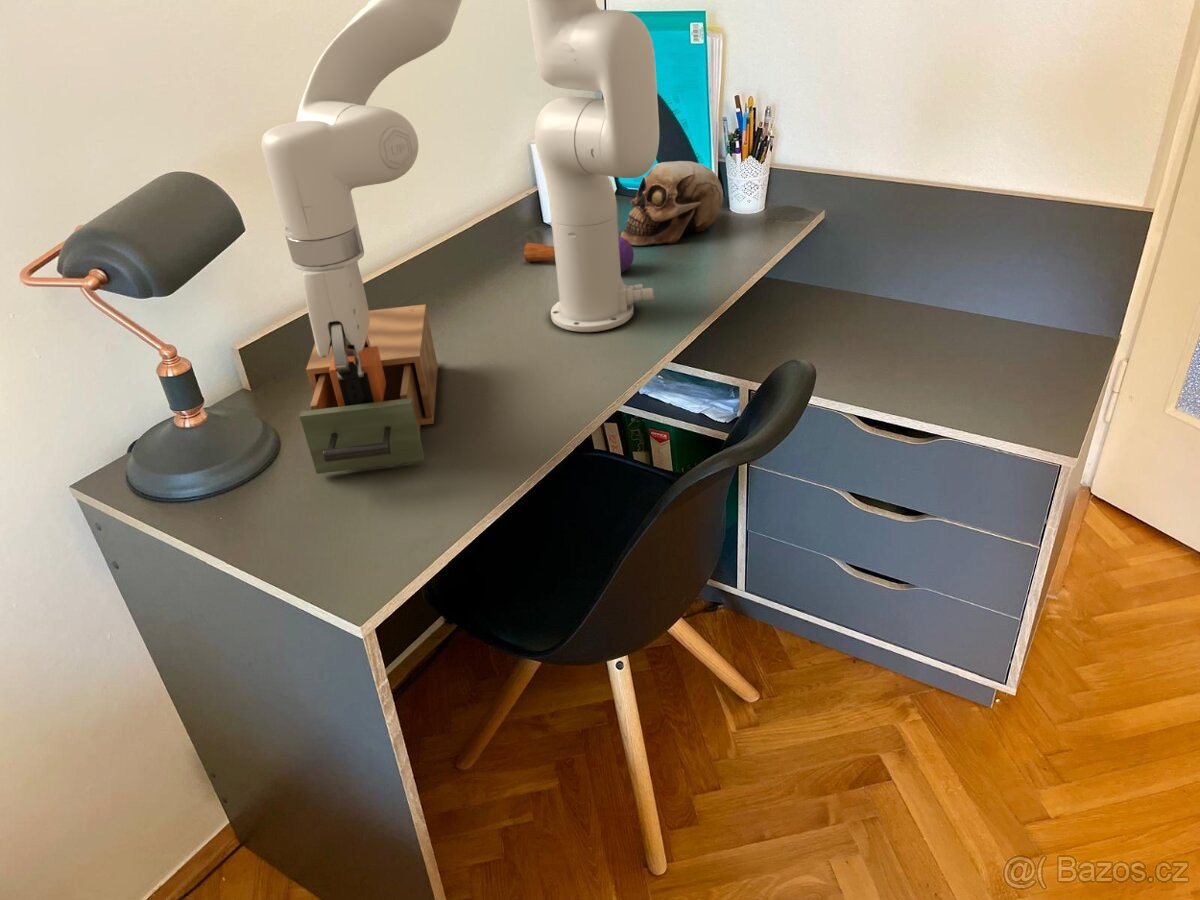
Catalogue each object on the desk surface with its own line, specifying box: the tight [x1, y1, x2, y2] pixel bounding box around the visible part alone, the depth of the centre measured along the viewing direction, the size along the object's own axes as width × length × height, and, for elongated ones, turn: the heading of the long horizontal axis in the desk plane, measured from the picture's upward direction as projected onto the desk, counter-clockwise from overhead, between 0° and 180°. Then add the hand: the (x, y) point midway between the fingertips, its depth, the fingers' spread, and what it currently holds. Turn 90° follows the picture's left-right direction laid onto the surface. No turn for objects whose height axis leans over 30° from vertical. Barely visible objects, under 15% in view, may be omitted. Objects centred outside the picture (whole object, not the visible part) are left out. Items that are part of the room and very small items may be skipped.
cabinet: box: [305, 303, 439, 426], centre depth 117 cm, size 16×14×10 cm
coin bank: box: [619, 160, 724, 247], centre depth 162 cm, size 16×17×13 cm
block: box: [329, 346, 386, 407], centre depth 104 cm, size 5×5×5 cm
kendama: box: [523, 236, 635, 273], centre depth 153 cm, size 6×6×20 cm
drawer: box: [299, 362, 425, 475], centre depth 106 cm, size 19×12×8 cm, turn 7°
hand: (362, 392), depth 105 cm, fingers closed on block, 5 cm apart
